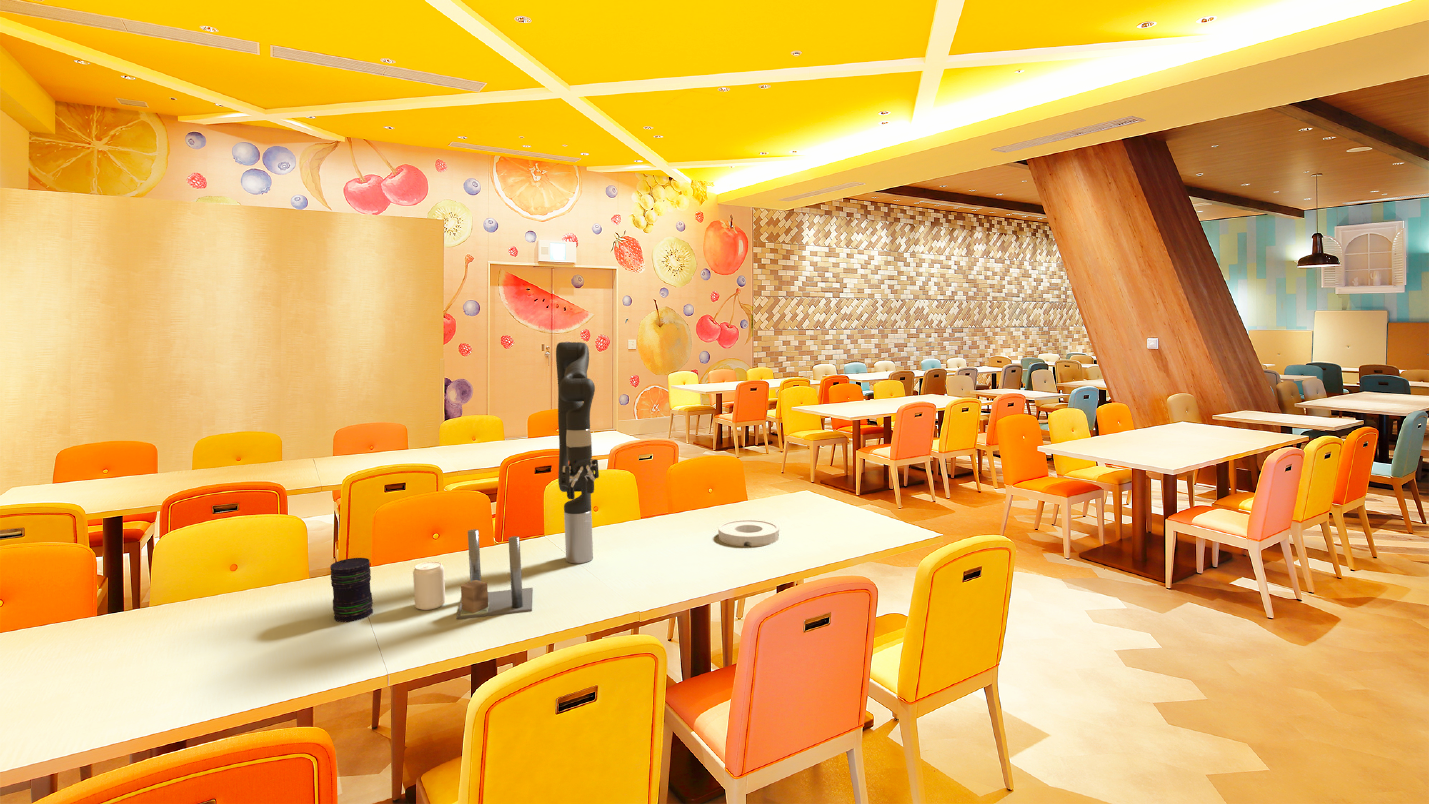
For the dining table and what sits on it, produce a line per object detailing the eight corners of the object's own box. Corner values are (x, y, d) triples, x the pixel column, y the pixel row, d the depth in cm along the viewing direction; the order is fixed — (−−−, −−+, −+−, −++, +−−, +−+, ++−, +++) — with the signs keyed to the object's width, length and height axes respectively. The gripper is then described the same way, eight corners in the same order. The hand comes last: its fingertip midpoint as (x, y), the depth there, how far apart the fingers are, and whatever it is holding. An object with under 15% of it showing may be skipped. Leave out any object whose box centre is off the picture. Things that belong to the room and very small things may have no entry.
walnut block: (476, 603, 194) (475, 579, 194) (488, 606, 192) (487, 582, 191) (462, 609, 190) (460, 585, 189) (473, 613, 187) (472, 588, 187)
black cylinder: (380, 612, 192) (377, 560, 190) (347, 625, 183) (343, 571, 182) (359, 605, 197) (356, 555, 195) (326, 617, 188) (322, 565, 187)
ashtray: (750, 526, 274) (750, 516, 274) (792, 538, 256) (791, 528, 256) (706, 537, 259) (705, 527, 259) (746, 551, 242) (746, 540, 241)
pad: (463, 606, 193) (463, 605, 193) (488, 603, 195) (488, 602, 195) (461, 615, 187) (460, 614, 187) (486, 613, 188) (486, 611, 188)
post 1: (471, 595, 201) (468, 529, 200) (482, 594, 202) (478, 528, 200) (470, 599, 199) (467, 532, 197) (481, 598, 199) (478, 531, 198)
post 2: (512, 605, 194) (508, 536, 192) (522, 603, 194) (519, 535, 193) (511, 609, 191) (508, 539, 189) (522, 607, 192) (519, 538, 190)
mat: (463, 596, 202) (463, 593, 202) (532, 589, 207) (532, 586, 207) (456, 619, 186) (456, 615, 186) (531, 610, 191) (531, 607, 191)
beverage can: (451, 601, 199) (449, 561, 198) (433, 612, 191) (430, 571, 190) (428, 599, 201) (425, 559, 200) (409, 609, 193) (406, 569, 192)
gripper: (585, 439, 214) (587, 490, 216) (553, 446, 202) (555, 499, 204) (603, 441, 210) (605, 492, 212) (571, 448, 198) (573, 502, 200)
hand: (580, 496), depth 208 cm, fingers open, 8 cm apart
